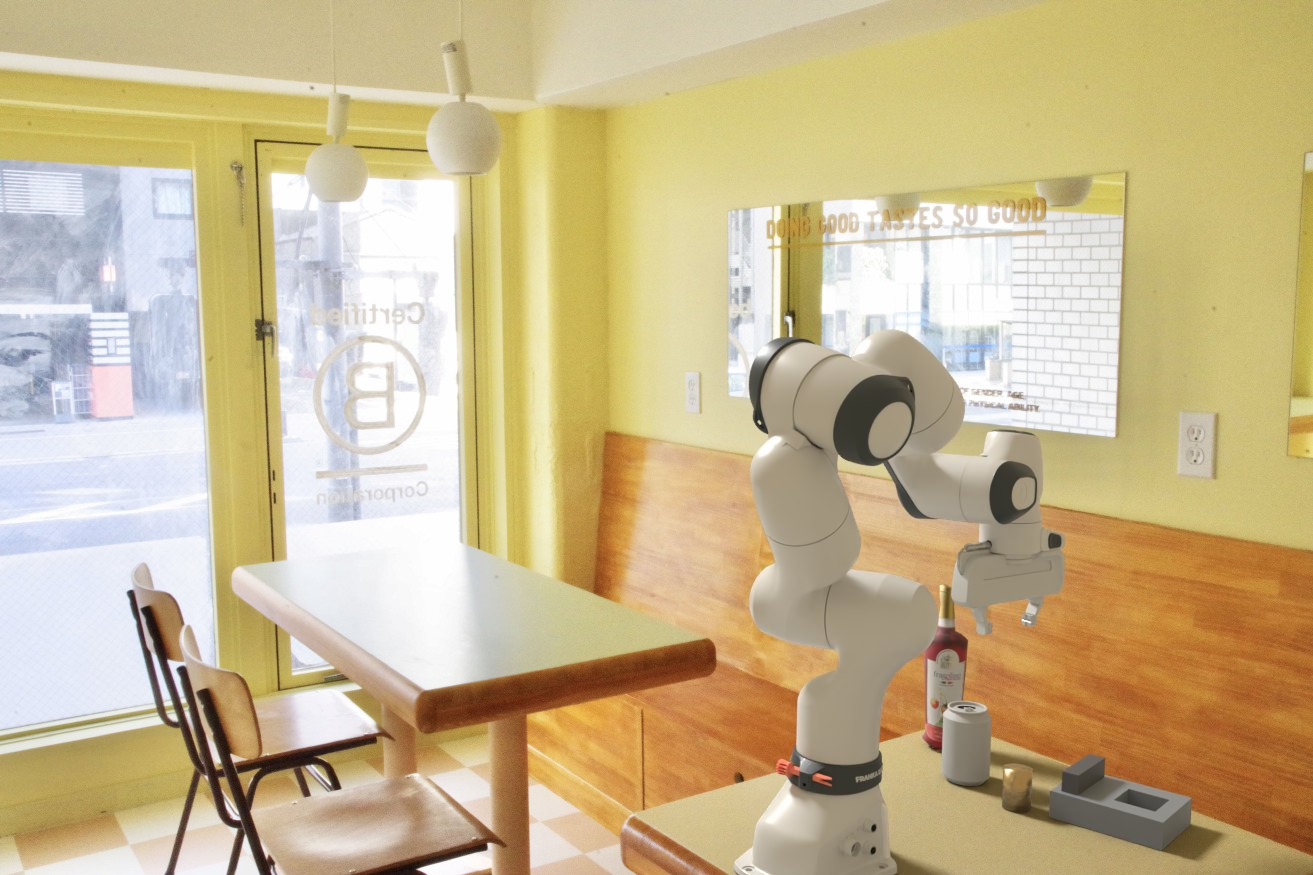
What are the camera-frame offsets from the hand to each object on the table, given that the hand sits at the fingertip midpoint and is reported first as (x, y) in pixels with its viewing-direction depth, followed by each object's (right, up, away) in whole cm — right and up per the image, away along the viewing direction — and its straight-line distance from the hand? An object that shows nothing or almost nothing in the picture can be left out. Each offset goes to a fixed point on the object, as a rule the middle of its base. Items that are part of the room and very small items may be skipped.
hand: (1007, 629), depth 169 cm
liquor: (-3, -25, +27) cm, 36 cm away
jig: (+15, -27, -4) cm, 31 cm away
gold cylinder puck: (+2, -27, +1) cm, 27 cm away
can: (-3, -26, +12) cm, 29 cm away
